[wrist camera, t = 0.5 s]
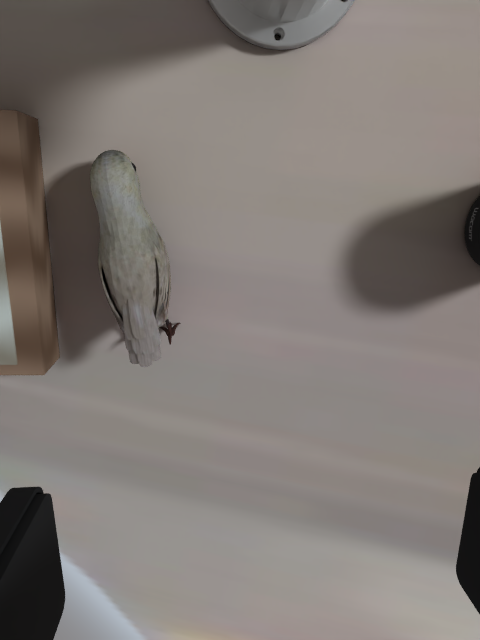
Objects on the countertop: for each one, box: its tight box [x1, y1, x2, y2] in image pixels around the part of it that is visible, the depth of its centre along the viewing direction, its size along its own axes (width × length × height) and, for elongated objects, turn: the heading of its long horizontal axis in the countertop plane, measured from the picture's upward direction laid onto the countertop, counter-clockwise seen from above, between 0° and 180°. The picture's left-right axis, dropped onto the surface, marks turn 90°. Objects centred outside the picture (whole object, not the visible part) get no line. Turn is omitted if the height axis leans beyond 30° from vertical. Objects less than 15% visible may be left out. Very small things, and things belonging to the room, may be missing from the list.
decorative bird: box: [90, 150, 180, 367], centre depth 34 cm, size 5×16×8 cm, turn 9°
